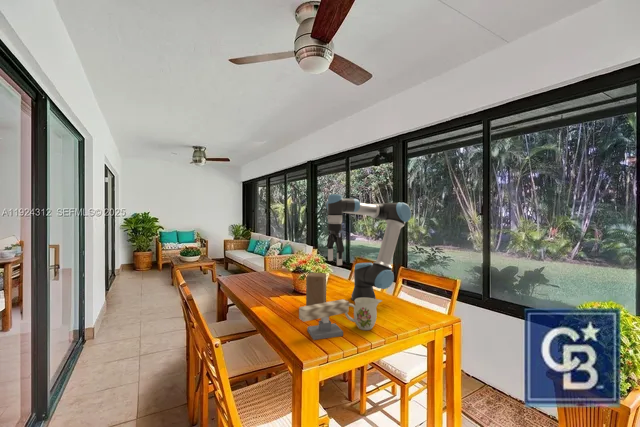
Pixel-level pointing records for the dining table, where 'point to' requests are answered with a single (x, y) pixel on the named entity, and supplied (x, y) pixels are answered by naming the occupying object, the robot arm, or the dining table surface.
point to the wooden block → (315, 288)
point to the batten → (323, 310)
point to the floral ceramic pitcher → (364, 312)
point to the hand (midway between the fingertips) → (334, 262)
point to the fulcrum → (324, 329)
